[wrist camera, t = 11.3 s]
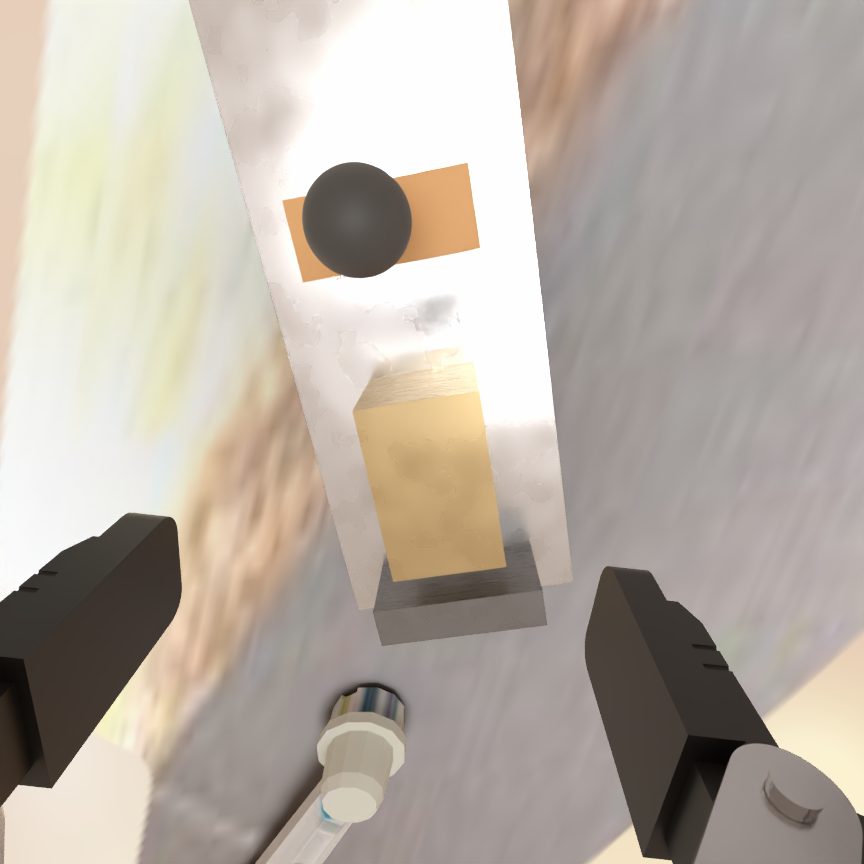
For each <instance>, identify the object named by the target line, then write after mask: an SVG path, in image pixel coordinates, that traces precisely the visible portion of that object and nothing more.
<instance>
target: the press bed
mask: <svg viewBox="0 0 864 864" xmlns="http://www.w3.org/2000/svg"><path fill="white" fill-rule="evenodd" d="M189 3H190V7H191V10H192V14H193V17H194V21H195V24H196V28H197V32H198V35H199V39H200V42H201V46H202V50H203V53H204V57H205V60H206V64H207V68H208V71H209V75H210V78H211V82H212V85H213V89H214V93H215V96H216V100H217V103H218V107H219V111H220V114H221V118H222V121H223V125H224V129H225V132H226V136H227V139H228V143H229V146H230V150H231V154H232V157H233V161H234V164H235V168H236V172H237V175H238V179H239V182H240V186H241V190H242V193H243V197H244V200H245V204H246V207H247V211H248V215H249V218H250V222H251V225H252V229H253V233H254V236H255V240H256V243H257V247H258V251H259V254H260V258H261V261H262V265H263V268H264V272H265V276H266V279H267V283H268V286H269V290H270V294H271V297H272V301H273V304H274V308H275V312H276V315H277V319H278V322H279V326H280V329H281V333H282V337H283V340H284V344H285V347H286V351H287V355H288V358H289V362H290V365H291V369H292V373H293V376H294V380H295V383H296V387H297V390H298V394H299V398H300V401H301V405H302V408H303V412H304V416H305V419H306V423H307V426H308V430H309V434H310V437H311V441H312V444H313V448H314V451H315V455H316V459H317V462H318V466H319V469H320V473H321V477H322V480H323V484H324V487H325V491H326V495H327V498H328V502H329V505H330V509H331V512H332V516H333V520H334V523H335V527H336V530H337V534H338V538H339V541H340V545H341V548H342V552H343V556H344V559H345V563H346V566H347V570H348V573H349V577H350V581H351V584H352V588H353V591H354V595H355V599H356V602H357V606H358V609H359V610H367V609H374V610H373V614H374V618H375V622H376V625H377V629H378V633H379V637H380V640H381V644H382V646H385V645H393V644H401V643H409V642H417V641H425V640H433V639H441V638H449V637H457V636H464V635H472V634H480V633H488V632H496V631H504V630H512V629H520V628H528V627H536V626H544V625H547V621H546V614H545V606H544V599H543V592H542V587H541V586H548V585H555V584H563V583H570V582H573V575H572V566H571V557H570V548H569V539H568V531H567V522H566V513H565V504H564V495H563V486H562V477H561V469H560V460H559V451H558V442H557V433H556V424H555V415H554V406H553V398H552V389H551V380H550V371H549V362H548V353H547V344H546V336H545V327H544V318H543V309H542V300H541V291H540V282H539V273H538V265H537V256H536V247H535V238H534V229H533V220H532V211H531V203H530V194H529V185H528V176H527V167H526V158H525V149H524V140H523V132H522V123H521V114H520V105H519V96H518V87H517V78H516V70H515V61H514V52H513V43H512V34H511V25H510V16H509V7H508V0H189ZM345 162H363V163H368V164H371V165H374V166H376V167H378V168H381V169H382V170H384V171H385V172H387V173H388V174H389V175H390V176H392V177H398V176H403V175H408V174H412V173H417V172H422V171H427V170H432V169H437V168H441V167H446V166H451V165H456V164H461V163H465V162H468V164H469V171H470V178H471V185H472V192H473V199H474V206H475V212H476V219H477V226H478V233H479V240H480V247H481V249H475V250H470V251H465V252H460V253H455V254H449V255H444V256H439V257H434V258H429V259H423V260H418V261H413V262H408V263H403V264H397V265H394V266H393V267H391V268H390V269H389V270H387V271H386V272H384V273H382V274H380V275H377V276H374V277H370V278H349V277H345V276H342V275H340V276H335V277H330V278H325V279H319V280H314V281H309V282H304V283H303V281H302V277H301V273H300V269H299V265H298V261H297V257H296V253H295V250H294V246H293V242H292V238H291V234H290V230H289V226H288V222H287V218H286V214H285V211H284V207H283V203H282V200H287V199H292V198H297V197H302V196H306V195H307V192H308V190H309V188H310V187H311V185H312V184H313V182H314V181H315V180H316V179H317V178H318V177H319V176H320V175H321V174H322V173H323V172H324V171H326V170H328V169H329V168H331V167H333V166H335V165H338V164H341V163H345ZM473 361H474V364H475V369H476V375H477V380H478V386H479V391H480V398H481V404H482V411H483V417H484V424H485V430H486V437H487V443H488V450H489V456H490V463H491V469H492V476H493V482H494V489H495V495H496V502H497V508H498V515H499V521H500V528H501V534H502V541H503V547H504V554H505V560H506V567H503V568H496V569H488V570H481V571H473V572H465V573H458V574H450V575H443V576H435V577H427V578H420V579H412V580H405V581H397V582H393V579H392V575H391V571H390V566H389V562H388V558H387V554H386V550H385V546H384V541H383V537H382V533H381V529H380V525H379V521H378V516H377V512H376V508H375V504H374V500H373V496H372V491H371V487H370V483H369V479H368V475H367V471H366V467H365V462H364V458H363V454H362V450H361V446H360V442H359V437H358V433H357V429H356V425H355V421H354V417H353V412H352V411H353V409H354V407H355V405H356V404H357V402H358V400H359V398H360V396H361V394H362V393H363V391H364V389H365V387H366V385H367V383H368V382H369V380H370V379H371V378H377V377H383V376H389V375H395V374H401V373H407V372H413V371H419V370H425V369H431V368H437V367H443V366H449V365H455V364H461V363H467V362H473Z"/></svg>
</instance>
